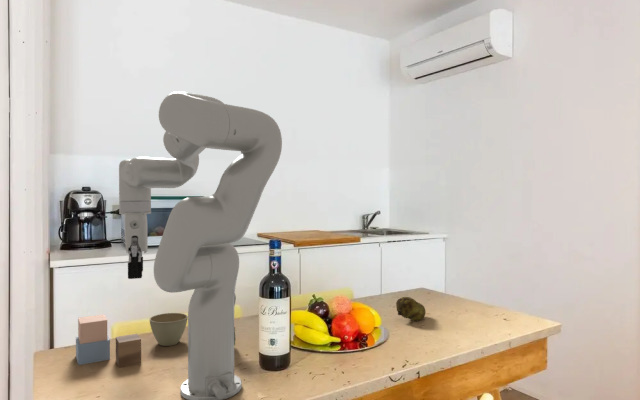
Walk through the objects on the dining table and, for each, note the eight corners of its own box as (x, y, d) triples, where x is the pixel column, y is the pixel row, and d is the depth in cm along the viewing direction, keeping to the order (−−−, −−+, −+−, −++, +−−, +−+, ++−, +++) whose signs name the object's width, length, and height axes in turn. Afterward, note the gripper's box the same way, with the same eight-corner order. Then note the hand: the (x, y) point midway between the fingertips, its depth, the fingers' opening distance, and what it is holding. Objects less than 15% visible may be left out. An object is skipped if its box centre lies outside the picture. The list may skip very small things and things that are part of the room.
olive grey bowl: (176, 350, 118) (176, 323, 118) (142, 347, 120) (142, 321, 120) (194, 338, 128) (194, 313, 128) (162, 336, 130) (162, 311, 130)
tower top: (107, 339, 112) (107, 319, 112) (80, 344, 109) (80, 323, 109) (104, 333, 117) (104, 314, 117) (78, 337, 114) (78, 317, 114)
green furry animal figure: (435, 320, 146) (435, 296, 146) (405, 326, 140) (405, 300, 140) (418, 314, 154) (418, 291, 154) (388, 319, 147) (388, 295, 147)
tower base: (109, 359, 112) (109, 339, 112) (78, 365, 108) (78, 344, 108) (106, 351, 118) (106, 332, 118) (75, 356, 114) (75, 337, 114)
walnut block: (141, 363, 109) (141, 339, 109) (119, 367, 107) (119, 342, 107) (137, 357, 114) (137, 333, 113) (115, 361, 111) (115, 337, 111)
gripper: (150, 209, 108) (151, 280, 108) (151, 207, 124) (151, 268, 124) (116, 209, 105) (117, 282, 105) (121, 207, 121) (122, 270, 121)
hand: (135, 275), depth 115 cm, fingers open, 9 cm apart
